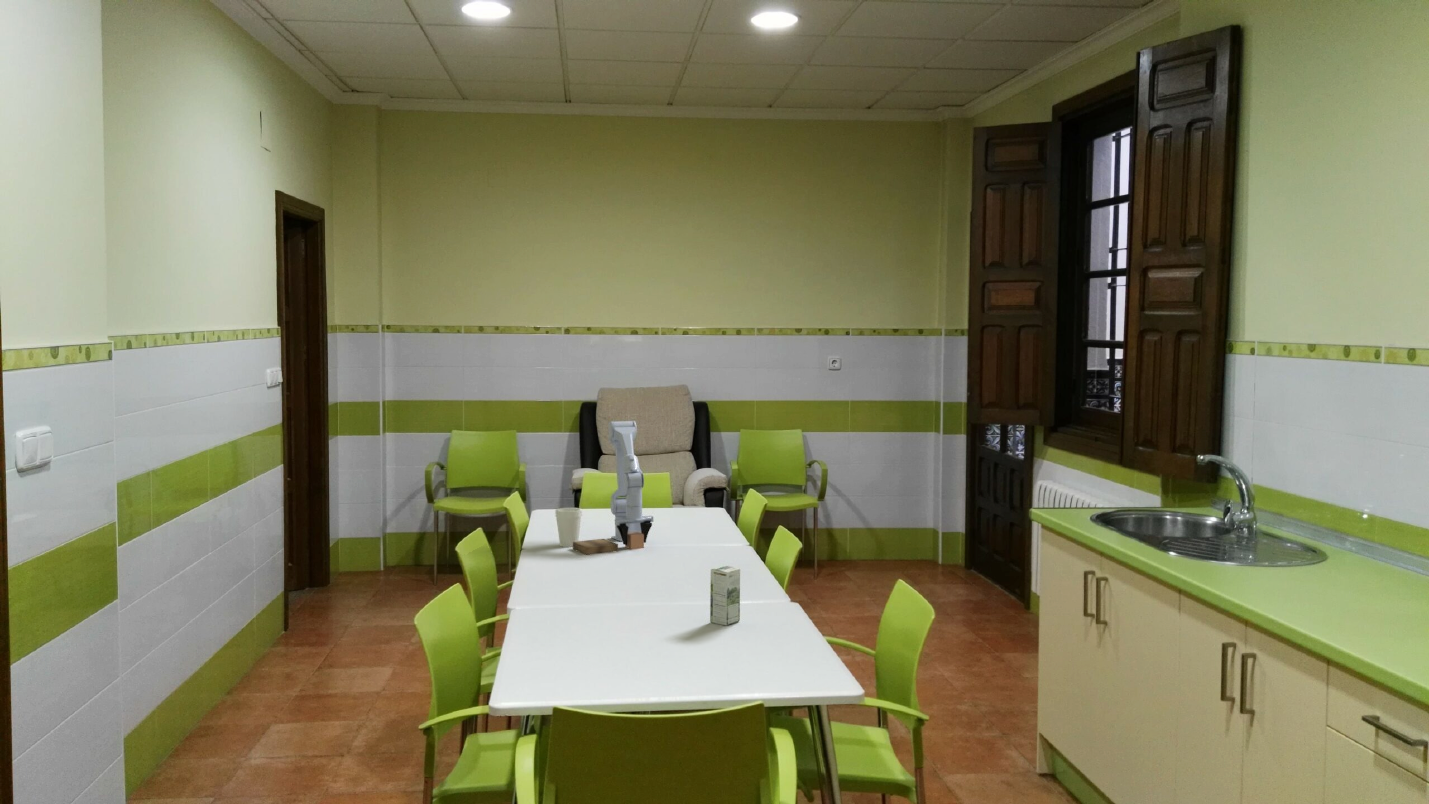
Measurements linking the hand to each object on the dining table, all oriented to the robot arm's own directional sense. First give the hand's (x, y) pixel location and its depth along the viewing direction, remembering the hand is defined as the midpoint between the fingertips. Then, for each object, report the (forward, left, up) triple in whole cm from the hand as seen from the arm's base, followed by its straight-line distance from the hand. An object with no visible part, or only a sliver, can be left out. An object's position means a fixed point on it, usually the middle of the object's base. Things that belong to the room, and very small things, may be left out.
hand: (634, 543), depth 379 cm
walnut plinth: (+14, -3, -2) cm, 14 cm away
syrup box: (+24, +102, -2) cm, 105 cm away
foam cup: (+18, -16, -2) cm, 25 cm away
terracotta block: (0, 0, -2) cm, 2 cm away
